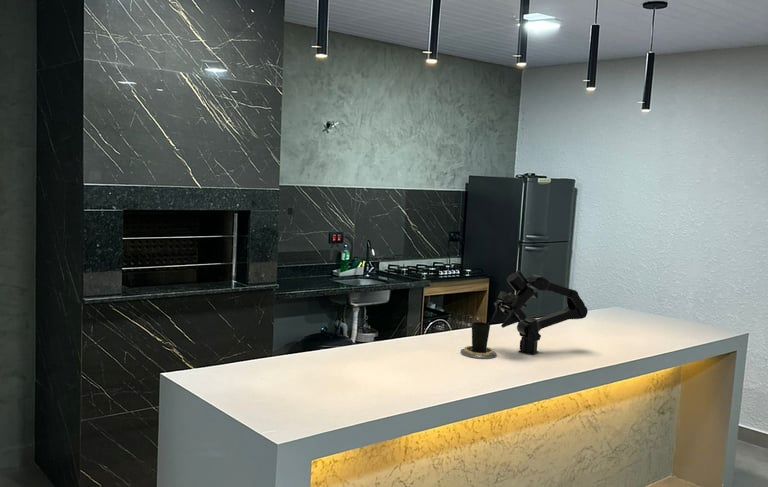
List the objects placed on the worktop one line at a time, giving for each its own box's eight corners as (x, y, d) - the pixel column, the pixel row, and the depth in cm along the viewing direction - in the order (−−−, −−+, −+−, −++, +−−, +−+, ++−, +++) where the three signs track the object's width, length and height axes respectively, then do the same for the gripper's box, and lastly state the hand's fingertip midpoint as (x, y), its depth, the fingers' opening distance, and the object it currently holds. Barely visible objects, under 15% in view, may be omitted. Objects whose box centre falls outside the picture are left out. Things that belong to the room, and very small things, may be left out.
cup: (489, 355, 284) (491, 326, 282) (470, 354, 284) (472, 325, 283) (486, 350, 291) (488, 322, 290) (468, 349, 291) (470, 321, 290)
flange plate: (503, 354, 289) (503, 350, 289) (485, 361, 277) (485, 356, 277) (472, 347, 298) (472, 343, 298) (453, 353, 286) (454, 348, 286)
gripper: (499, 281, 298) (475, 306, 295) (522, 288, 280) (496, 315, 278) (514, 299, 301) (490, 324, 298) (537, 307, 283) (511, 334, 281)
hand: (496, 324), depth 289 cm, fingers open, 9 cm apart
